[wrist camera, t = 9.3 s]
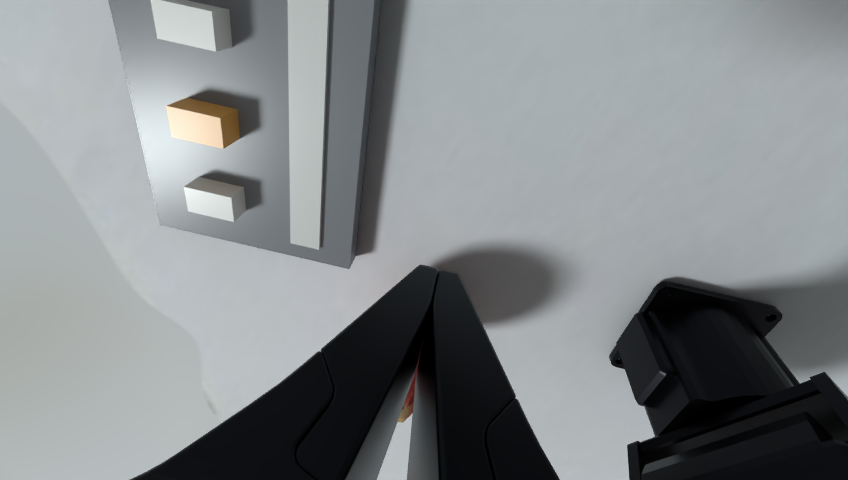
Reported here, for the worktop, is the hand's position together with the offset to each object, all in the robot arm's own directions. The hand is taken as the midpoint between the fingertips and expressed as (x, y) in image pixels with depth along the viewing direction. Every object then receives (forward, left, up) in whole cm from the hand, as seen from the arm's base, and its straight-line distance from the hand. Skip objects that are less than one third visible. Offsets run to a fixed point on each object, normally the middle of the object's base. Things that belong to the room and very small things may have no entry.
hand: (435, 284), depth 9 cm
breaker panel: (+10, 0, -12) cm, 15 cm away
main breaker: (+11, +2, -11) cm, 16 cm away
